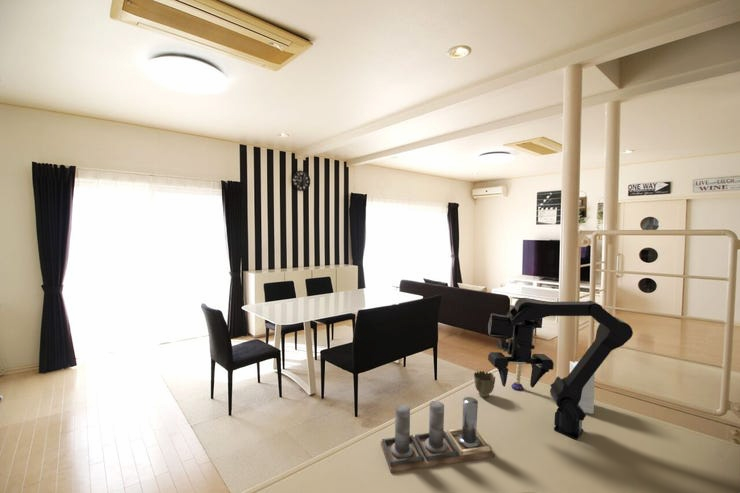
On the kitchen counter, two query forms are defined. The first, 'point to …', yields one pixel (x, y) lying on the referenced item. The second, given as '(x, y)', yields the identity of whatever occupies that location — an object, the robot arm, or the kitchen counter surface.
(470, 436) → the grey cylindrical piece
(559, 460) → the kitchen counter surface
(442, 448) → the pin board
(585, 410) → the skincare box
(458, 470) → the kitchen counter surface
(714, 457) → the kitchen counter surface
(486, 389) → the cup
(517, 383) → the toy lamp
